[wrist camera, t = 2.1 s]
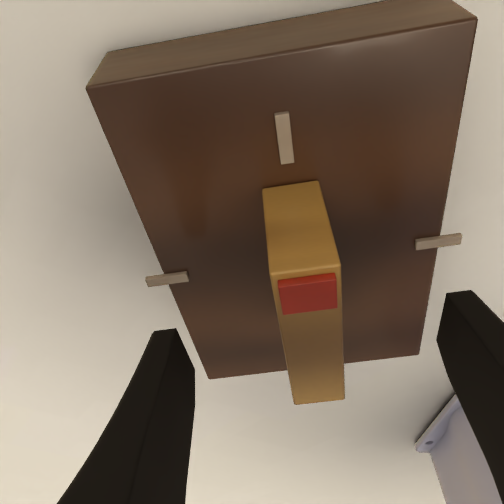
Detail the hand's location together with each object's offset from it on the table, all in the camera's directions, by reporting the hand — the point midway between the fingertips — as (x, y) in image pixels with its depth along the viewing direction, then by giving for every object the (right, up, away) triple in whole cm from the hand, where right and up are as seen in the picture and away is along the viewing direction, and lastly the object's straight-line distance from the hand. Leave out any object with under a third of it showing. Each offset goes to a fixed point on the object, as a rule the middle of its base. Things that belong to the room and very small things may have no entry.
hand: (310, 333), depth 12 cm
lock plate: (0, +4, +4) cm, 6 cm away
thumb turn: (0, +2, +2) cm, 3 cm away
